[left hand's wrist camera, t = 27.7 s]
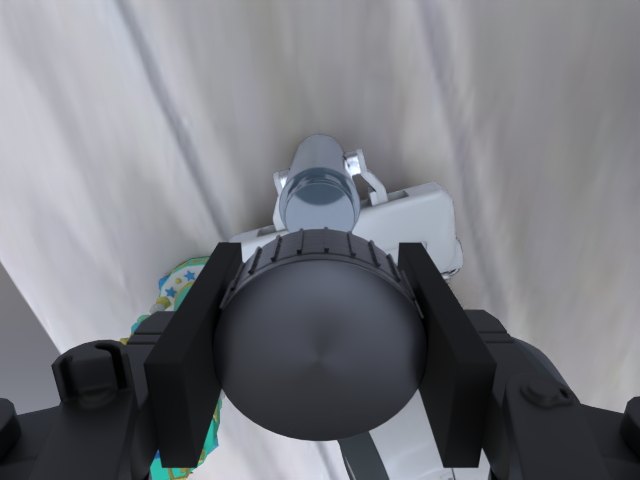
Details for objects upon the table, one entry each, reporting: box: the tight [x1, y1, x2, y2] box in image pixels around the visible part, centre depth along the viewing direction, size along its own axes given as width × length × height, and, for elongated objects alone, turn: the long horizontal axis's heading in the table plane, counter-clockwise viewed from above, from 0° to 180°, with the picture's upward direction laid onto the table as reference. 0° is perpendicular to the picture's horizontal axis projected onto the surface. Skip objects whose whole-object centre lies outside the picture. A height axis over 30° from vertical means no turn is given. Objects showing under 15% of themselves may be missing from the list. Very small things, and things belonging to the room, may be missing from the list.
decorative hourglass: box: [119, 257, 225, 480], centre depth 32 cm, size 11×11×30 cm
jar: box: [279, 134, 361, 233], centre depth 32 cm, size 5×5×20 cm
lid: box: [212, 227, 428, 441], centre depth 11 cm, size 6×6×2 cm
